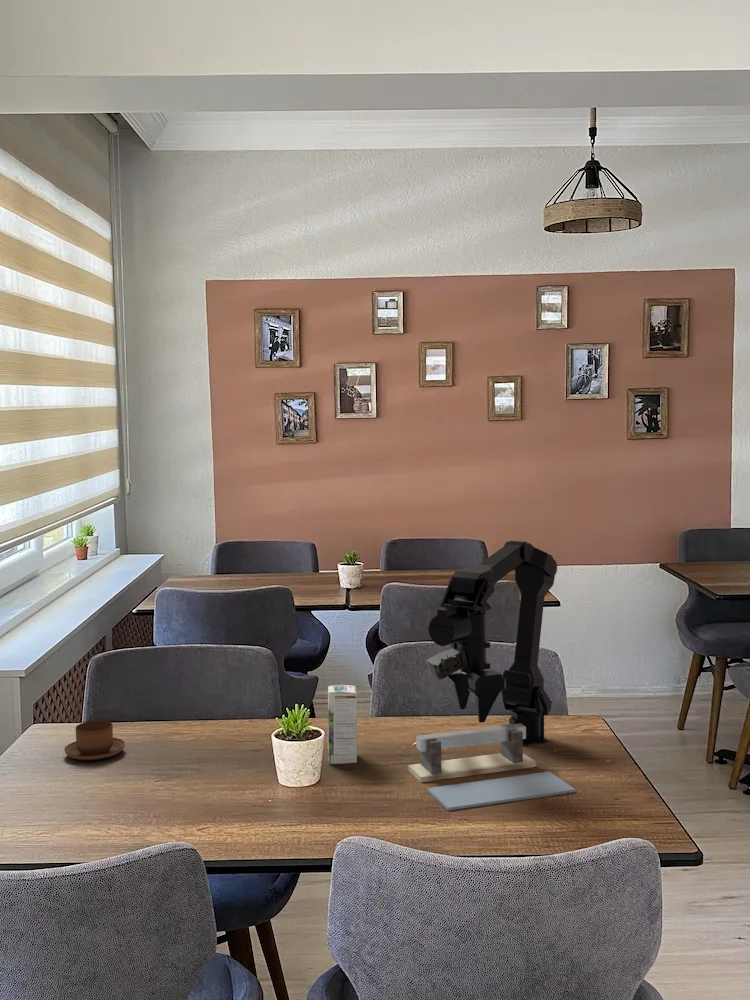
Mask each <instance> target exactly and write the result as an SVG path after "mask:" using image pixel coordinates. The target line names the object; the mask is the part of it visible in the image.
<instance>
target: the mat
mask: <svg viewBox="0 0 750 1000" xmlns="http://www.w3.org/2000/svg"><path fill="white" fill-rule="evenodd" d="M426 791H427V792H428V793H429V795H431V796H432V798H434V800H436V801H437V802H438V803H439V804H440V805H441V806H442V807H443V808H444V809H445V810H447V811H455V810H462V809H468V808H476V807H482V806H483V807H484V806H488V805H489V806H491V805H495V804H502V803H509V802H517V801H523V800H530V799H536V798H537V799H538V798H543V797H544V798H545V797H550V796H551V797H552V796H558V795H565V794H572V793H576V789H575V788H574V787H573V786H571V785H570V784H569V783H567V782H566V781H564V780H563V779H561V778H559V777H558V775H557V776H556V775H555V774H554V773H552V772H551V771H544V772H543V771H541V772H536V773H527V774H521V775H513V776H506V777H499V778H493V779H492V778H491V779H485V780H478V781H477V780H476V781H471V782H462V783H456V784H448V785H447V784H446V785H441V786H434V787H433V786H432V787H427V788H426Z"/></svg>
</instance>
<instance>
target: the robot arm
mask: <svg viewBox="0 0 750 1000" xmlns="http://www.w3.org/2000/svg"><path fill="white" fill-rule="evenodd" d="M512 571H514V582H515V584H516V587H517V588H518V591H519V593H520V601H519V611H518V620H517V630H516V639H515V651H514V658H513V663H512V664H511V666H510V667H509V669H505V670H504V671H503V673H500V672H498V671H496V670H495V669H491V663H490V662H488V661H487V649H490V648H491V642H490V641H488V640H487V611H490V610H491V609H492V606H491V605H490V604H489V603H488V602H487V601H488V600H489V598H490V597H491V596H492V595H493V594H494V593H495V591H496V588H495V587H496V584H497V583H498V582H499V581H500V580H503V578H504V577H505V576H507V575H509V573H511V572H512ZM557 571H558V564H557V561H556V560H555V559H554V557H553V555H551V554H549V553H547V552H545V551H543V550H542V549H539V548H537V547H536V546H533V545H532V544H531V543H530V542H528V541H526V540H524V541H523V540H522V541H521V540H509V541H508V540H507V541H506V542H505V543H504V545H503V546H502V547H501V548H500V549H497V551H495V552H494V553H493V554H491V555H490V556H488V557H487V558H486V559H485V560H483V561H482V562H480V563H479V564H476V565H472V566H467V567H465V566H464V568H460V569H458V570H456V571H455V572H454V573H453V574H452V575H451V578H450V580H449V581H448V585H447V588H446V590H445V593H444V595H443V599H442V600H441V604H440V607H441V608H437V609H436V611H437V613H436V615H435V616H433V618H432V619H431V620H430V622H429V625H428V634H429V637H430V639H431V640H432V641H433V643H434V644H435V645H438V646H439V647H444V646H446V647H447V646H448V645H449V646H450V648H449V649H447V650H443V651H442V652H441V651H440V652H439V653H437V654H435V655H432V656H431V657H429V658H428V659H426V662H427V664H428V668H429V670H430V672H431V675H432V676H433V677H435V678H436V679H438V680H444V679H446V678H447V679H449V681H450V682H451V684H452V687H453V691H454V693H455V696H456V697H455V698H456V701H457V705H458V708H459V709H460V710H465V709H466V707H467V705H468V701H469V698H470V693H471V694H472V695H473V696H474V699H475V706H476V713H477V720H478V722H479V723H480V724H481V723H485V722H486V720H487V717H488V716H489V714H490V712H491V710H492V707H493V706H494V704H495V702H496V700H497V699H498V697H499V695H500V693H501V698H502V703H503V707H504V710H505V711H510V717H509V718H508V724H519V723H521V724H522V725H524V726H525V727H526V739H523V746H525V745H532V744H534V745H535V744H541V743H547V742H549V739H548V738H547V737H546V736H545V716H548V715H550V714H549V713H550V712H551V711H552V710H551V709H552V704H553V703H552V699H551V698H550V697H549V696H548V693H547V692H546V691H545V689H544V688H545V687H544V686H545V683H544V681H545V680H544V676H543V674H542V672H541V669H540V668H539V665H538V663H539V652H540V645H541V644H540V642H541V633H542V625H543V613H544V604H545V597H546V595H547V594H548V592H549V591H550V590H551V588H552V587H553V585H554V583H555V579H556V578H555V577H556V574H557V573H558V572H557Z"/></svg>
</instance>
